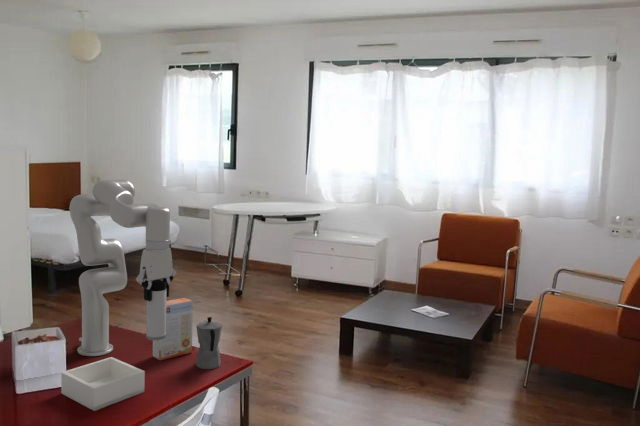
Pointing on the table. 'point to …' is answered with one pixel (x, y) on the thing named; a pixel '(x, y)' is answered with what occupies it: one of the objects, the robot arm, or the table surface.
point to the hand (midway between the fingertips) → (156, 297)
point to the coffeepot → (208, 344)
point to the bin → (102, 383)
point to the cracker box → (176, 330)
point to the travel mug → (156, 311)
